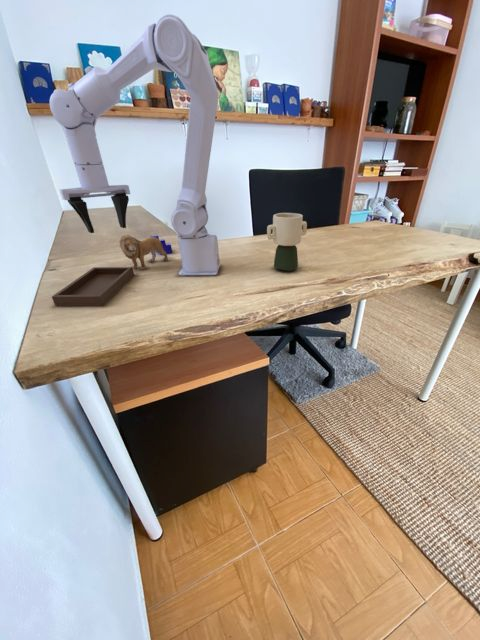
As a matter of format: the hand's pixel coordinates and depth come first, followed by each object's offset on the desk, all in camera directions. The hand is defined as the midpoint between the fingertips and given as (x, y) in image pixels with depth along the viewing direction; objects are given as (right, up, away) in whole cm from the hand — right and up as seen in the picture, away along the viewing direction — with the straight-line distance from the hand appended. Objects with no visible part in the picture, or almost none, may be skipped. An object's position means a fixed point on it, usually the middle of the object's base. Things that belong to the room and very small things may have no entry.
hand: (107, 229), depth 72 cm
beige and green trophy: (+44, -9, +5) cm, 45 cm away
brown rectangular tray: (+1, -16, -6) cm, 17 cm away
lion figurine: (+7, -7, +7) cm, 12 cm away
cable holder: (+7, +1, +19) cm, 20 cm away
